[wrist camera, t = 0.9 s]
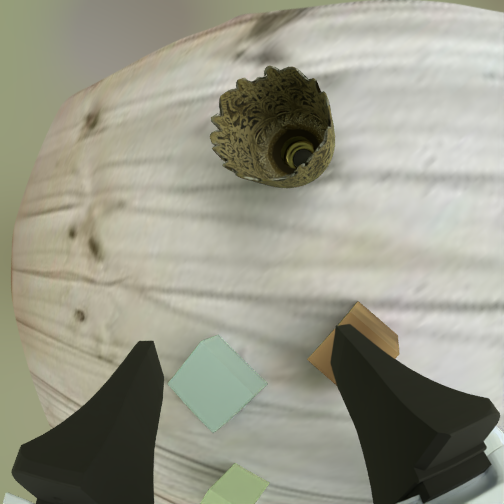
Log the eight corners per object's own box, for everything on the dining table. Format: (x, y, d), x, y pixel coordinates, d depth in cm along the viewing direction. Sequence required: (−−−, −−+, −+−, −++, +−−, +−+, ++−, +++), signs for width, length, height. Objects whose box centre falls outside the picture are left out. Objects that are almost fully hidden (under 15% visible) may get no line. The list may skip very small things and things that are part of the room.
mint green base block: (269, 382, 25) (254, 395, 22) (229, 419, 26) (213, 433, 24) (220, 334, 27) (201, 341, 24) (187, 374, 28) (167, 383, 26)
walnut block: (397, 335, 21) (399, 354, 16) (361, 373, 21) (353, 400, 17) (358, 301, 22) (350, 311, 17) (323, 340, 23) (307, 359, 18)
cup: (268, 214, 25) (216, 195, 18) (252, 133, 26) (202, 92, 19) (360, 191, 22) (346, 157, 15) (335, 107, 23) (309, 50, 16)
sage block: (269, 482, 24) (247, 512, 19) (254, 502, 25) (232, 530, 20) (235, 462, 26) (209, 489, 21) (222, 483, 26) (197, 508, 22)
